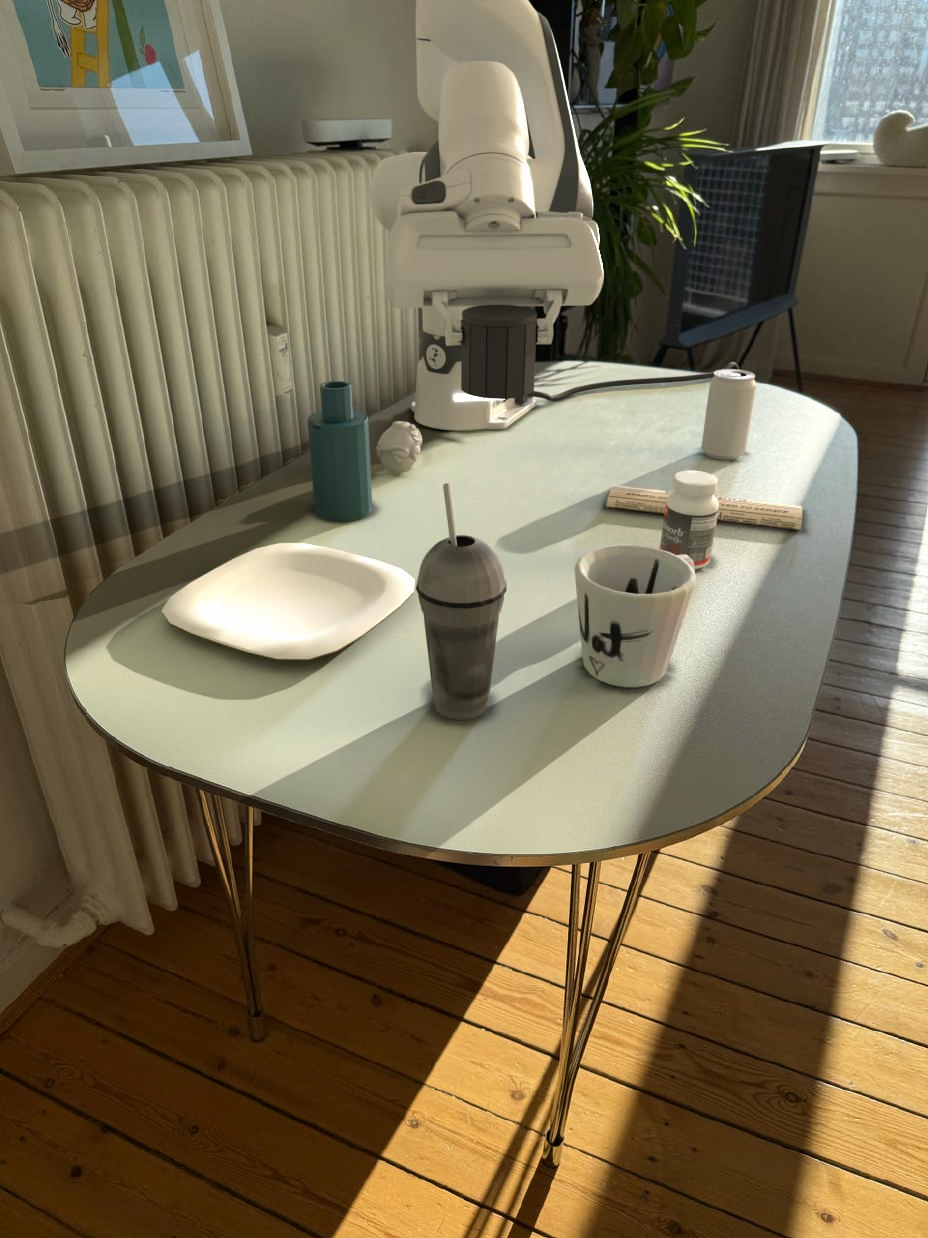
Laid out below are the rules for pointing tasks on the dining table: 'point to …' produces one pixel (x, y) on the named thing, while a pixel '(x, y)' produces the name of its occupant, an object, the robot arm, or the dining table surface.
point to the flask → (340, 456)
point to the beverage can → (728, 413)
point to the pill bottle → (691, 516)
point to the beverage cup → (460, 618)
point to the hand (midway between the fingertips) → (499, 341)
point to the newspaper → (726, 512)
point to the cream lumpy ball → (399, 447)
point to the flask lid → (498, 351)
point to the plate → (290, 601)
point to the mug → (631, 611)
